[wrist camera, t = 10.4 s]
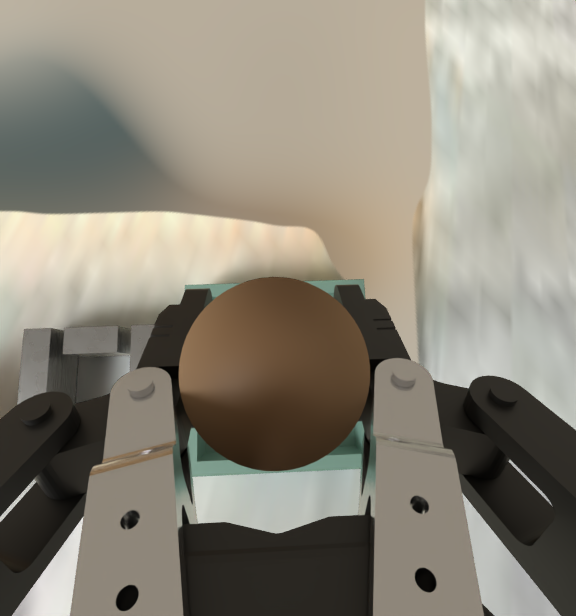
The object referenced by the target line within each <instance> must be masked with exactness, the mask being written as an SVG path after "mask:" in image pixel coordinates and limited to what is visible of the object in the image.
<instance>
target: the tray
mask: <svg viewBox="0 0 576 616" xmlns="http://www.w3.org/2000/svg"><path fill="white" fill-rule="evenodd" d="M303 282H307V283H309V284H311V285H314V286H316V287H318V288H320V289H322V290H323V291H325V292H327V293H328V294H330V295H331V296H332V297H334V288H335V285H350V284H358V285H359V286H360V288H361V291H362V293H363V296H364V298H365V288H364V279H356V280H326V281H303ZM238 284H241V283H235V284H204V285H185V290H186V289H202V288H210V290H211V293H212V299H213V300H214V299H215V298H216V297H218V296H219V295H220V294H222V293H223V292H225V291H226V290H228V289H230V288H232V287H234V286H236V285H238ZM363 436H364V428H363V424H362V421H358V422H357V424H356V425H355V427H354V428H353V430H352V431H351V433H350V434H349V435H348V437H347V438H346V439H345V440H344V441H343V442H342V443H341V444H340V445H339V446H338V447H337V448H336V449H334V450H333V451H332V452H331V453H329V454H328V455H326V456H325V457H323V458H321V459H320V460H318V461H316V462H314V463H311V464H309V465H307V466H304V467H300V468H296V469H293V470H286V471H262V470H256V469H251V468H248V467H244V466H241V465H238V464H236V463H234V462H232V461H230V460H228V459H226V458H225V457H223V456H222V455H220V454H219V453H217V452H216V451H215V450H214V449H212V448H211V447H210V446H209V445H208V444H207V443H206V442H205V441H204V440H203V439H202V437H201V436H200V435H199V434H198V433H197V431H196V429H195V428H191V431H190V436H189V441H188V446H189V452H190V461H191V470H192V477H198V476H219V475H240V474H261V473H281V472H302V471H323V470H344V469H361V459H362V441H363Z"/></svg>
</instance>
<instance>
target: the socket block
mask: <svg viewBox="0 0 576 616" xmlns="http://www.w3.org/2000/svg"><path fill="white" fill-rule="evenodd" d="M154 325H155V324H154ZM154 325H131V330H130V329H127V328H124V327H120V326H98V327H70V328H64V331H62V330H57V329H52V328H43V329H24V335H23V346H22V357H21V368H20V379H19V390H18V401H17V405H18V404H19V403H21V402H23V401H24V400H26V399H28V398H30V397H32V396H35V395H38V394H41V393H45V392H52V391H55V392H63V393H65V394H67V395H69V396H70V398H71V399H72V401H73V403H74V404H75V401H76V385H77V369H78V356H86V357H100V356H126V355H130V372H131V371H133V370H136V368H137V366H138V363H139V361H140V359H141V356H142V354H143V351H144V349H145V347H146V344H147V342H148V339H149V338H150V335H151V332H152V330H153V328H154Z"/></svg>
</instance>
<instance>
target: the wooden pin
mask: <svg viewBox="0 0 576 616" xmlns="http://www.w3.org/2000/svg"><path fill="white" fill-rule="evenodd" d="M369 384H370V363H369V356H368V351H367V347H366V344H365V341H364V338H363V336H362V333H361V331H360V329H359V327H358V326H357V324H356V322H355V320H354V319H353V318H352V316H351V315H350V314H349V312H348V311H347V310H346V309H345V308H344V307H343V306H342V305H341V304H340V303H339V302H338V301H337V300H336V299H335V298H333V297H332V296H331V295H330V294H328V293H327V292H325V291H323V290H322V289H320V288H318V287H316V286H314V285H311V284H309V283H307V282H303V281H300V280H296V279H291V278H284V277H268V278H259V279H254V280H250V281H247V282H244V283H241V284H238V285H236V286H234V287H232V288H230V289H228V290H226V291H225V292H223V293H222V294H220V295H219V296H218V297H216V298H215V299H214V300H213V301H212V302H210V303H209V304H208V305H207V306H206V307H205V308H204V310H203V311H202V312H201V313H200V314H199V316H198V317H197V319H196V320H195V321H194V323H193V324H192V326H191V328H190V330H189V332H188V334H187V336H186V339H185V342H184V345H183V348H182V352H181V357H180V363H179V387H180V393H181V398H182V402H183V405H184V408H185V411H186V413H187V415H188V417H189V419H190V421H191V423H192V425H193V426H194V428H195V429H196V431H197V433H198V434H199V435H200V436H201V437H202V439H203V440H204V441H205V442H206V443H207V444H208V445H209V446H210V447H211V448H212V449H214V450H215V451H216V452H217V453H219V454H220V455H222V456H223V457H225V458H226V459H228V460H230V461H232V462H234V463H236V464H238V465H241V466H244V467H248V468H251V469H256V470H262V471H286V470H293V469H296V468H300V467H304V466H307V465H309V464H311V463H314V462H316V461H318V460H320V459H321V458H323V457H325V456H326V455H328V454H329V453H331V452H332V451H333V450H334V449H336V448H337V447H338V446H339V445H340V444H341V443H342V442H343V441H344V440H345V439H346V438H347V437H348V435H349V434H350V433H351V431H352V430H353V428H354V427H355V425H356V424H357V422H358V420H359V418H360V416H361V414H362V412H363V409H364V406H365V404H366V400H367V396H368V392H369Z"/></svg>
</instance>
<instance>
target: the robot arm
mask: <svg viewBox="0 0 576 616" xmlns="http://www.w3.org/2000/svg"><path fill="white" fill-rule="evenodd" d="M333 298H335V299H336V300H337V301H338V302H339V303H340V304H341V305H342V306H343V307H344V308H345V309H346V310H347V311H348V312H349V314H350V315H351V316H352V318H353V319H354V320H355V322H356V324H357V326H358V327H359V329H360V331H361V333H362V336H363V338H364V341H365V344H366V347H367V351H368V356H369V363H370V384H369V392H368V396H367V400H366V404H365V406H364V409H363V412H362V414H361V416H360V418H359V420H358V421H362V424H363V428H364V436H363V441H362V459H361V477H360V495H359V509H358V515H353V516H334V517H327V518H324V519H321V520H318V521H315V522H312V523H310V524H307V525H304V526H301V527H298V528H295V529H292V530H289V531H286V532H283V533H278V534H275V533H270V532H266V531H261V530H257V529H253V528H248V527H244V526H240V525H235V524H231V523H227V522H220V523H201V524H198V521H197V515H196V507H195V498H194V489H193V479H192V470H191V461H190V452H189V446H188V441H189V436H190V431H191V428H194V426H193V425H192V423H191V421H190V419H189V417H188V415H187V413H186V411H185V408H184V405H183V402H182V398H181V393H180V387H179V363H180V357H181V352H182V348H183V345H184V342H185V339H186V336H187V334H188V332H189V330H190V328H191V326H192V324H193V323H194V321H195V320H196V319H197V317H198V316H199V314H200V313H201V312H202V311H203V310H204V308H205V307H206V306H207V305H208V304H209V303H210V302H212V301H213V299H212V293H211V290H210V288H202V289H186V290H185V292H184V295H183V298H182V301H181V304H180V305H169V306H168V307H167V308H166V309H165V310H164V311H162V312H161V313H160V314H159V316H158V318H157V320H156V323H155V325H154V328H153V330H152V332H151V335H150V338H149V339H148V342H147V344H146V347H145V349H144V351H143V354H142V356H141V359H140V361H139V363H138V366H137V368H136V370H133V371H131V372H129V373H127V374H125V375H124V376H122V377H121V378H120V379H119V380H118V381H117V382H116V383H115V384H114V386H113V387H112V389H111V393H110V394H108V395H105V396H102V397H99V398H95V399H91V400H88V401H84V402H80V403H77V404H74V403H73V401H72V399H71V398H70V396H69V395H67V394H65V393H63V392H55V391H52V392H45V393H41V394H38V395H35V396H32V397H30V398H28V399H26V400H24V401H23V402H21V403H19V404H18V405H17V406H15V407H14V408H13V409H12V410H11V411H9V412H8V413H7V414H6V415H5V416H4V417H3V418H1V419H0V516H1V515H2V514H3V513H4V512H5V511H6V509H7V508H8V507H9V506H10V505H11V504H12V503H13V502H14V501H15V499H16V498H17V497H18V496H19V495H20V494H21V493H22V492H23V491H24V490H25V488H26V487H27V486H28V485H29V484H30V483H31V482H32V481H33V480H34V479H35V481H36V483H35V484H34V485H33V486H32V488H31V489H30V490H29V491H28V492H27V493H26V494H25V495H24V497H23V498H22V499H21V500H20V501H19V502H18V503H17V504H16V506H15V507H14V508H13V509H12V510H11V511H10V512H9V513H8V515H7V516H6V517H5V518H4V519H3V520H2V521H1V522H0V616H12V614H13V613H14V612H15V610H16V609H17V607H18V606H19V605H20V603H21V602H22V600H23V599H24V598H25V596H26V595H27V594H28V592H29V591H30V589H31V588H32V587H33V585H34V584H35V582H36V581H37V580H38V578H39V577H40V576H41V574H42V573H43V571H44V570H45V569H46V567H47V566H48V564H49V563H50V562H51V560H52V559H53V558H54V556H55V555H56V553H57V552H58V551H59V549H60V548H61V547H62V545H63V544H64V542H65V541H66V540H67V538H68V537H69V535H70V534H71V533H72V531H73V530H74V529H75V527H76V526H77V524H78V523H79V522H80V520H81V519H82V517H83V516H84V518H83V525H82V533H81V540H80V547H79V554H78V562H77V569H76V576H75V584H74V591H73V598H72V605H71V613H70V616H494V615H493V614H492V613H491V612H490V611H489V610H488V609H487V608H486V607H485V606H484V605H483V604H482V602H481V596H480V591H479V585H478V580H477V574H476V569H475V563H474V557H473V552H472V546H471V541H470V535H469V530H468V524H467V519H466V513H465V507H464V502H463V496H462V493H463V494H464V495H465V497H466V498H467V499H468V500H469V502H470V503H471V504H472V505H473V507H474V508H475V509H476V510H477V512H478V513H479V514H480V515H481V517H482V518H483V519H484V520H485V522H486V523H487V524H488V525H489V526H490V528H491V529H492V530H493V531H494V533H495V534H496V535H497V536H498V538H499V539H500V540H501V541H502V543H503V544H504V545H505V546H506V548H507V549H508V550H509V551H510V553H511V554H512V555H513V556H514V558H515V559H516V560H517V561H518V563H519V564H520V565H521V566H522V568H523V569H524V570H525V571H526V573H527V574H528V575H529V576H530V577H531V579H532V580H533V581H534V582H535V584H536V585H537V586H538V587H539V589H540V590H541V591H542V592H543V594H544V595H545V596H546V597H547V599H548V600H549V601H550V602H551V604H552V605H553V606H554V607H555V609H556V610H557V611H558V612H559V614H560V615H561V616H576V430H575V429H573V428H572V427H571V426H570V425H568V424H567V423H566V422H565V421H563V420H562V419H561V418H560V417H558V416H557V415H556V414H555V413H553V412H552V411H551V410H550V409H548V408H547V407H546V406H545V405H543V404H542V403H541V402H540V401H539V400H537V399H536V398H535V397H534V396H532V395H531V394H530V393H529V392H527V391H526V390H525V389H524V388H522V387H521V386H519V385H518V384H516V383H514V382H512V381H510V380H507V379H504V378H501V377H496V376H482V377H478V378H476V379H475V380H473V381H472V383H471V384H470V387H469V389H468V388H463V387H458V386H454V385H449V384H444V383H440V382H437V381H434V380H433V379H432V377H431V375H430V373H429V372H428V371H427V370H426V369H425V368H424V367H423V366H421V365H420V364H418V363H416V362H414V361H411V359H410V357H409V355H408V353H407V351H406V349H405V347H404V344H403V342H402V340H401V338H400V336H399V334H398V332H397V330H395V326H394V323H393V322H392V321H391V317H390V315H389V313H388V311H387V309H386V308H385V307H384V306H383V305H382V304H381V303H379V302H378V301H377V300H376V299H365V298H364V296H363V293H362V291H361V288H360V286H359V285H358V284H350V285H335V288H334V297H333ZM509 460H511V461H512V462H513V463H514V464H515V465H516V466H517V467H518V468H519V469H520V470H521V471H522V472H523V473H524V474H525V475H526V476H527V477H528V478H529V479H530V480H531V481H532V482H533V483H534V484H535V485H536V486H537V487H538V488H539V489H540V490H541V491H542V492H543V493H544V494H545V495H546V496H547V498H548V499H549V500H550V502H551V504H552V506H553V507H552V506H551V505H550V504H549V503H548V501H547V500H546V499H545V498H544V497H543V496H542V495H541V494H540V493H539V492H538V491H537V490H536V489H535V488H534V487H533V486H532V485H531V484H530V483H529V482H528V481H527V480H526V479H525V478H524V477H523V476H522V475H521V474H520V473H519V472H518V471H517V470H516V469H515V468H514V467H513V466H512V465H511V464H510V463H509V462H508V461H509Z"/></svg>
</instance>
